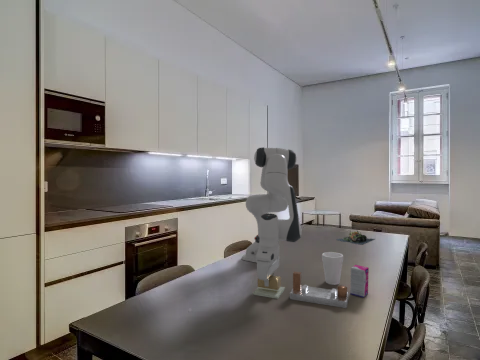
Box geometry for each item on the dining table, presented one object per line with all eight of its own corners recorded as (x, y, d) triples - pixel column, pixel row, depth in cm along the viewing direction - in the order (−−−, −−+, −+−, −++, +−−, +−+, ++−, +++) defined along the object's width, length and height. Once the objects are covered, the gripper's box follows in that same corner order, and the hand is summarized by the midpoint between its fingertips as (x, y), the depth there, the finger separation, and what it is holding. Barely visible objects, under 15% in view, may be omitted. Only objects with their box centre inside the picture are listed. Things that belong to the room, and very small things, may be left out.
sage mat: (252, 294, 127) (252, 292, 127) (261, 285, 137) (261, 283, 137) (278, 298, 122) (278, 296, 122) (284, 289, 132) (284, 287, 132)
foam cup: (336, 278, 146) (336, 251, 145) (347, 284, 137) (347, 256, 136) (318, 279, 144) (318, 252, 143) (328, 286, 135) (328, 258, 134)
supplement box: (364, 298, 122) (364, 270, 122) (349, 294, 126) (349, 267, 126) (368, 293, 126) (368, 266, 126) (354, 290, 130) (354, 264, 130)
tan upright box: (257, 287, 129) (257, 277, 129) (261, 283, 134) (261, 274, 134) (277, 290, 125) (277, 280, 125) (281, 285, 130) (280, 276, 130)
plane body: (289, 299, 122) (289, 275, 122) (295, 290, 131) (295, 268, 131) (346, 308, 113) (346, 283, 113) (348, 298, 122) (348, 275, 122)
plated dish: (347, 234, 252) (347, 225, 252) (382, 239, 233) (382, 230, 232) (327, 242, 226) (327, 232, 226) (365, 248, 207) (365, 238, 207)
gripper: (269, 245, 140) (269, 274, 140) (254, 257, 121) (254, 290, 122) (282, 246, 137) (282, 276, 138) (268, 258, 119) (269, 293, 119)
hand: (269, 283), depth 129 cm, fingers closed on tan upright box, 5 cm apart
